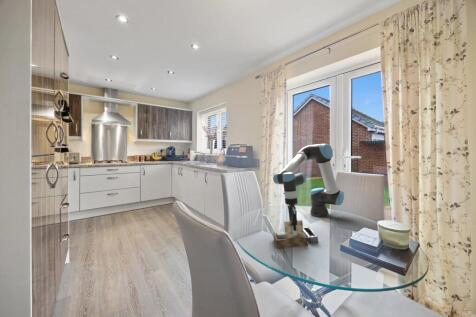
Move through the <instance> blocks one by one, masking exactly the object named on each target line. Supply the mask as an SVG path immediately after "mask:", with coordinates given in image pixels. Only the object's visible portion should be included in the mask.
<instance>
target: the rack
mask: <svg viewBox="0 0 476 317" xmlns="http://www.w3.org/2000/svg"><path fill="white" fill-rule="evenodd" d="M272 233H273V240H274V243H275V246H276V249H284V248H285V249H286V248H294V247H296V248H297V247H308V246H309V242H308V241H307V237H306V235H305V234H304V237H300V238H289V239H286V237H285V238H277V237H276V232H274V231H273V232H272Z"/></svg>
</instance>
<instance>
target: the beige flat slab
mask: <svg viewBox="0 0 476 317" xmlns="http://www.w3.org/2000/svg"><path fill="white" fill-rule="evenodd" d="M283 224H284V232H285V236H286V239H289V238H300V237H304V233H303V227H304V225H303V219H297V225H296V227H297V235H294V236H293V233H292V226H291V224H292V221H290V220H284V221H283Z"/></svg>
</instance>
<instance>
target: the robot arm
mask: <svg viewBox="0 0 476 317" xmlns="http://www.w3.org/2000/svg"><path fill="white" fill-rule="evenodd" d="M333 153H334V151H333V148H332V146H331V145H330V144H328V143H318V144H310V145H306V146H304V147H302V148H301V149H299V151H297V153H295V157H293V158H292V160H291V161H290V162H289V163H287V165H286V166H285V167H284V168H283V169H282V170H281V171H280V172H278V173H275V174H274V175H273V177H272V179H273V180H272V181H273V182H274V184H277V185H283V195H284V203H285V204H286V205H287V209H288V210H287V211H288V220H289V221H292V224H291V226H292V233H293V236H294V235H297V227H296V225H297V220H298V216H297V215H298V214H297V208H296V206H295V205H297V204H298V197H297V196H298V193H297V186H301V185H303V184H305V183H306V182H307V176H306V175H305V173H303V172H299V173H296V172H297V171H298V169H299V168H300V167H301V166H302V164H304V163H306V162H307V161H310V160H314V161H315V163H316V164H318V167H319V170H320V174H321V177H322V180H323V184H324V187H317V188H312V189H311V190H310V194H309V195H310V201H311V207H310V212H309V213H310V214H309V215H310V216H312V217H316V218H325V217H328V216H329V215H330V214H329V213H330V212H329V210H328V208H327V205H334V206H341V205H342V204H343V203H344V199H345V198H344V197H345V194H344V191H342V190H340V187H338V186H337V183H336V180H335V175H334V172H333V168H332V165H331V160H332V158H333V157H334V154H333Z"/></svg>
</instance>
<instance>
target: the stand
mask: <svg viewBox="0 0 476 317" xmlns="http://www.w3.org/2000/svg"><path fill="white" fill-rule="evenodd" d="M303 233H304V234H305V235H306V237H307V241H308V244H319V237H318V235H317V234H316V233H315V232H314V231H313V230H312V228H310V227H309V226H306V227H305V226H303Z"/></svg>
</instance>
